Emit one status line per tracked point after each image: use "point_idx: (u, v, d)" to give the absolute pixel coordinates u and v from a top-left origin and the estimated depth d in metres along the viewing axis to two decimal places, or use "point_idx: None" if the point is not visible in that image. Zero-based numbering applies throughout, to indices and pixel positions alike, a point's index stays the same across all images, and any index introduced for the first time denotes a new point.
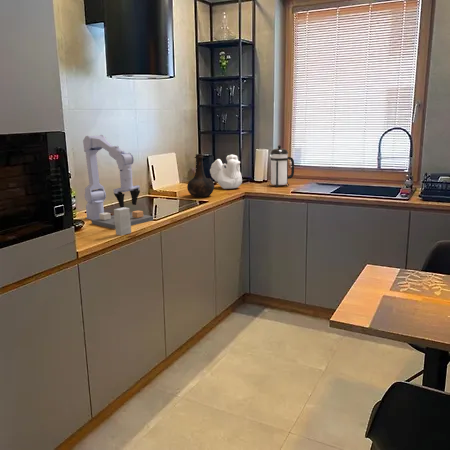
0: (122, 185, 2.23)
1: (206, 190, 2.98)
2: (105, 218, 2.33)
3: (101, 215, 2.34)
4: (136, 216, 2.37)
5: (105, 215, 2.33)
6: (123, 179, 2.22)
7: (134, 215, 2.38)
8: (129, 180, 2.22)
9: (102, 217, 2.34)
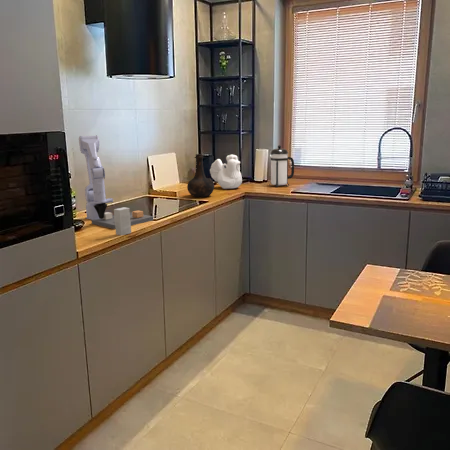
0: (95, 198, 2.29)
1: (206, 190, 2.98)
2: (107, 218, 2.34)
3: None
4: (136, 216, 2.37)
5: (107, 215, 2.34)
6: (96, 192, 2.28)
7: (134, 215, 2.38)
8: (102, 193, 2.29)
9: (104, 217, 2.34)
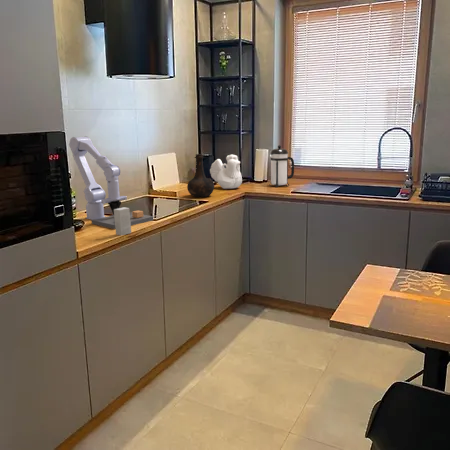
0: (109, 196, 2.36)
1: (206, 190, 2.98)
2: None
3: None
4: (136, 216, 2.37)
5: None
6: (110, 190, 2.35)
7: (134, 215, 2.38)
8: (116, 191, 2.35)
9: None
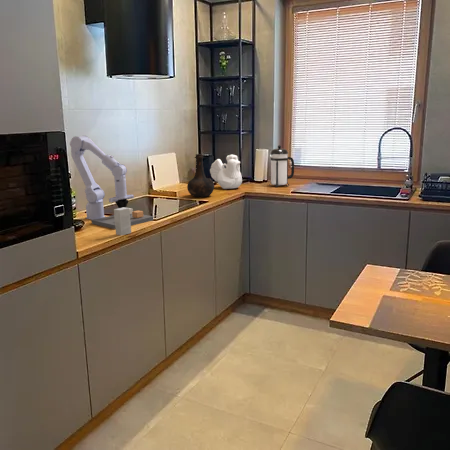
0: (117, 194, 2.39)
1: (206, 190, 2.98)
2: None
3: None
4: (136, 216, 2.37)
5: None
6: (118, 189, 2.38)
7: (134, 215, 2.38)
8: (123, 190, 2.39)
9: None
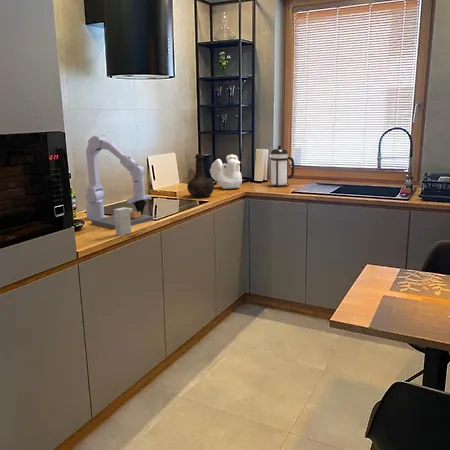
0: (135, 195, 2.35)
1: (206, 190, 2.98)
2: None
3: None
4: (134, 217, 2.36)
5: None
6: (136, 190, 2.34)
7: (132, 216, 2.36)
8: (141, 190, 2.35)
9: None
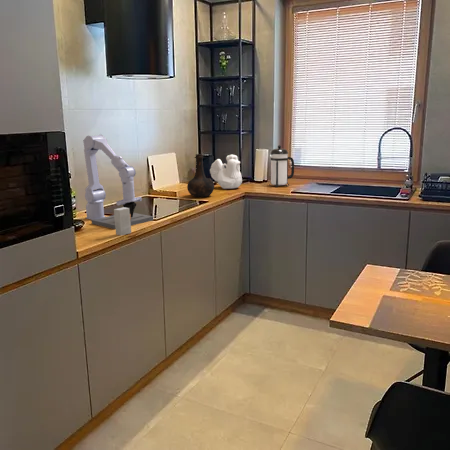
0: (124, 197, 2.31)
1: (206, 190, 2.98)
2: None
3: None
4: None
5: None
6: (125, 191, 2.30)
7: None
8: (131, 192, 2.30)
9: None
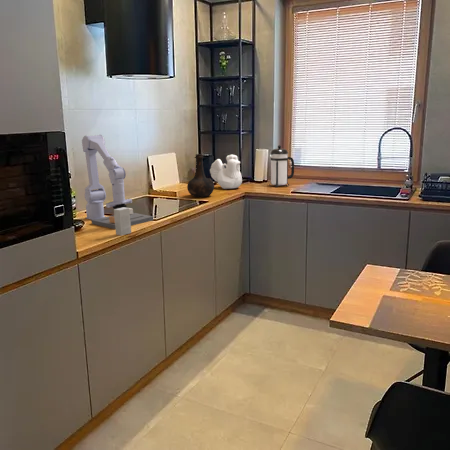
0: (114, 199, 2.26)
1: (206, 190, 2.98)
2: None
3: None
4: (113, 221, 2.26)
5: None
6: (115, 193, 2.25)
7: (111, 220, 2.27)
8: (121, 194, 2.26)
9: None
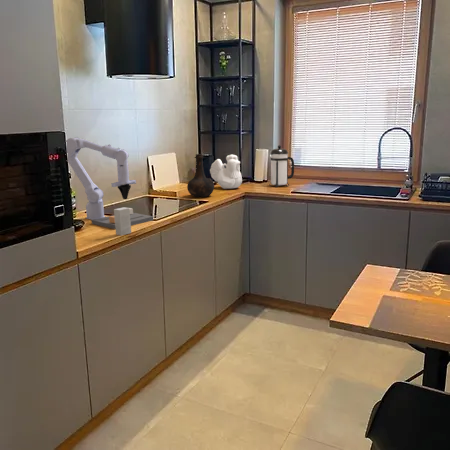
0: (119, 179, 2.40)
1: (206, 190, 2.98)
2: None
3: None
4: (113, 221, 2.26)
5: None
6: (120, 174, 2.39)
7: (111, 220, 2.27)
8: (126, 175, 2.40)
9: None
